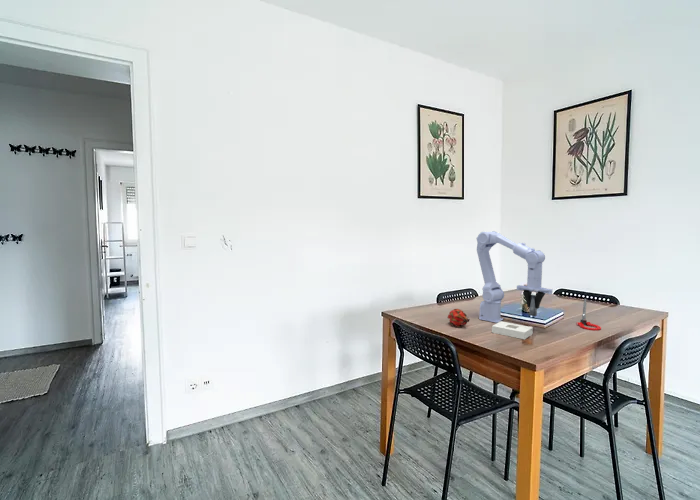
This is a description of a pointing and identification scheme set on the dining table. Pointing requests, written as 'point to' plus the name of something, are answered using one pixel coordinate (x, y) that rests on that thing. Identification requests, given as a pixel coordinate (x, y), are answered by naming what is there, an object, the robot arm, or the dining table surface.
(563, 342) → the dining table surface
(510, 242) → the robot arm
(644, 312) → the dining table surface
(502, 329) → the hole block
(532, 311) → the peg
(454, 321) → the dragon fruit
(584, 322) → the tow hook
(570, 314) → the dining table surface
